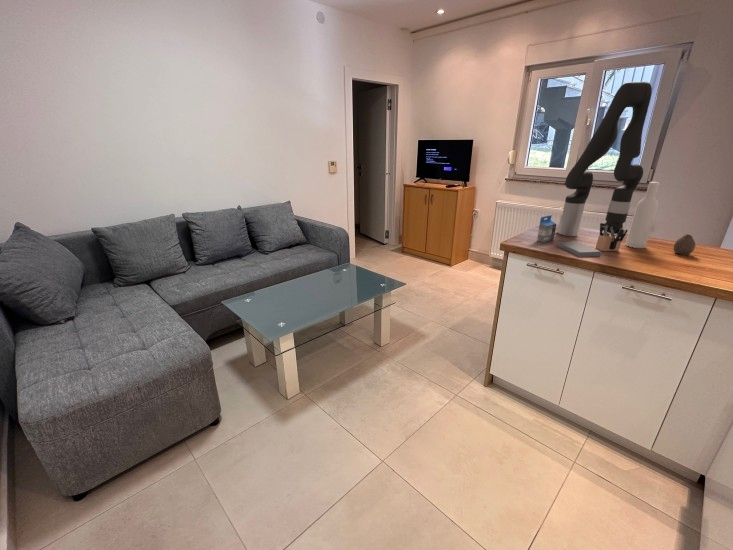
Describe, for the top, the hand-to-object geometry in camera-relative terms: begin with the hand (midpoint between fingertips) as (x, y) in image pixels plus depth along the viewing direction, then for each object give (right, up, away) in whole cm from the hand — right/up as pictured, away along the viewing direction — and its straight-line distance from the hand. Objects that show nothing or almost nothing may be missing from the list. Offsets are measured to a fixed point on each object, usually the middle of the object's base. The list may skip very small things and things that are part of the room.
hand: (607, 247), depth 156 cm
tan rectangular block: (0, -1, 0) cm, 1 cm away
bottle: (+17, +1, +5) cm, 18 cm away
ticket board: (-15, -2, -1) cm, 15 cm away
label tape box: (-21, +5, +16) cm, 27 cm away
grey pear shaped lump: (+29, -4, -6) cm, 30 cm away
